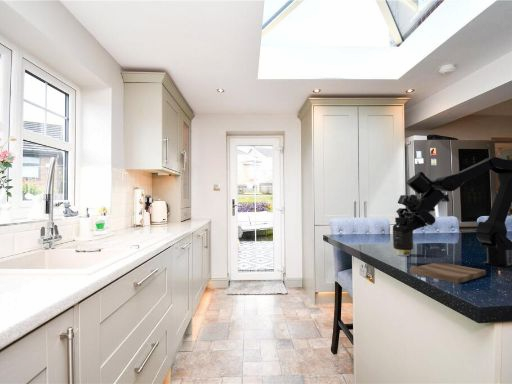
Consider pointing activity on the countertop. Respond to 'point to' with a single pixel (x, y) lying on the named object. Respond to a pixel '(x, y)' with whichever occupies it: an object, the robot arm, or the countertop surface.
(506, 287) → the countertop surface
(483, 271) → the walnut board
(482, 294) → the countertop surface
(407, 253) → the supplement bottle
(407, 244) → the supplement bottle
